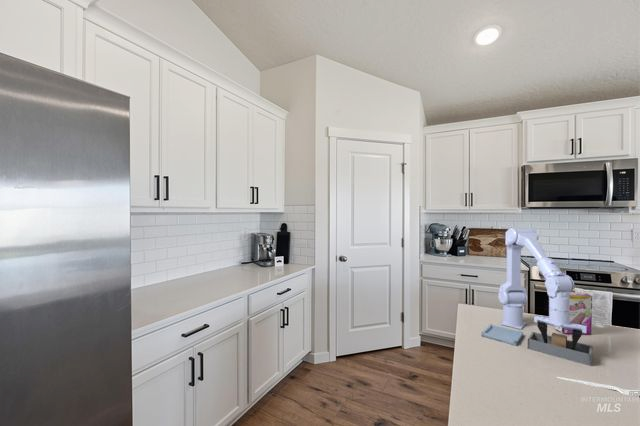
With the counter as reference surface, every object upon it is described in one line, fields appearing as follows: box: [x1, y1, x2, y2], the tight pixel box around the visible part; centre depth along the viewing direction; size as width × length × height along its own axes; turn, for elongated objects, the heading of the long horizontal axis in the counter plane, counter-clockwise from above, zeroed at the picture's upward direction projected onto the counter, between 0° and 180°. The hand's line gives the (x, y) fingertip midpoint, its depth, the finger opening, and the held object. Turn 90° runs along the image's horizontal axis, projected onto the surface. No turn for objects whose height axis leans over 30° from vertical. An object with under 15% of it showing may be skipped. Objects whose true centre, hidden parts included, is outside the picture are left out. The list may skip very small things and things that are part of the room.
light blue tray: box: [481, 324, 524, 347], centre depth 118 cm, size 12×12×2 cm
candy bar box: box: [554, 291, 593, 336], centre depth 122 cm, size 11×5×16 cm, turn 84°
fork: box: [556, 376, 640, 396], centre depth 84 cm, size 3×20×2 cm, turn 62°
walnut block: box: [550, 332, 568, 348], centre depth 105 cm, size 4×4×6 cm
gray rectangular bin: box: [527, 331, 594, 367], centre depth 105 cm, size 9×17×4 cm, turn 45°
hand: (559, 346), depth 105 cm, fingers open, 7 cm apart
